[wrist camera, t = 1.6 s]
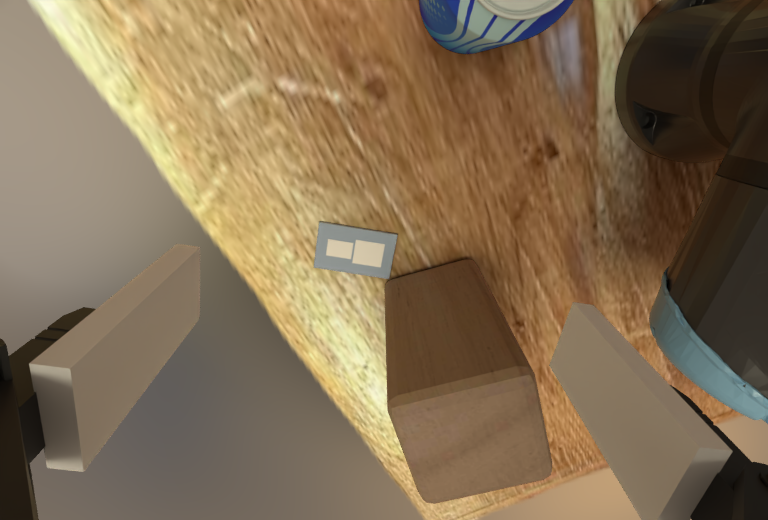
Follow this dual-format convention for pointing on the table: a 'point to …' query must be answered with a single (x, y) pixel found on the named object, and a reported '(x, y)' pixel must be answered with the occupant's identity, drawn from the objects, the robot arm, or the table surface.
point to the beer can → (488, 21)
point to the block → (460, 387)
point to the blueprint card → (354, 250)
